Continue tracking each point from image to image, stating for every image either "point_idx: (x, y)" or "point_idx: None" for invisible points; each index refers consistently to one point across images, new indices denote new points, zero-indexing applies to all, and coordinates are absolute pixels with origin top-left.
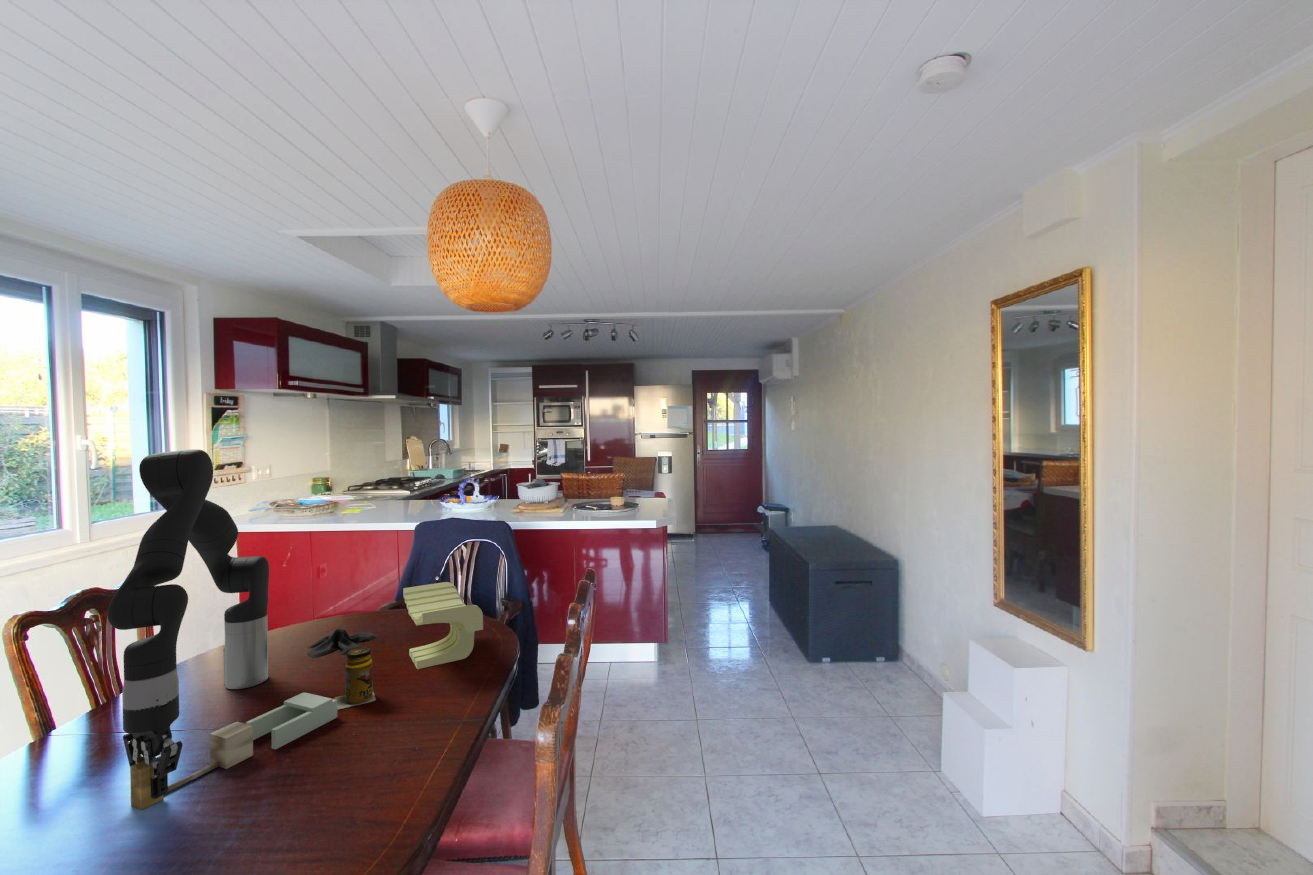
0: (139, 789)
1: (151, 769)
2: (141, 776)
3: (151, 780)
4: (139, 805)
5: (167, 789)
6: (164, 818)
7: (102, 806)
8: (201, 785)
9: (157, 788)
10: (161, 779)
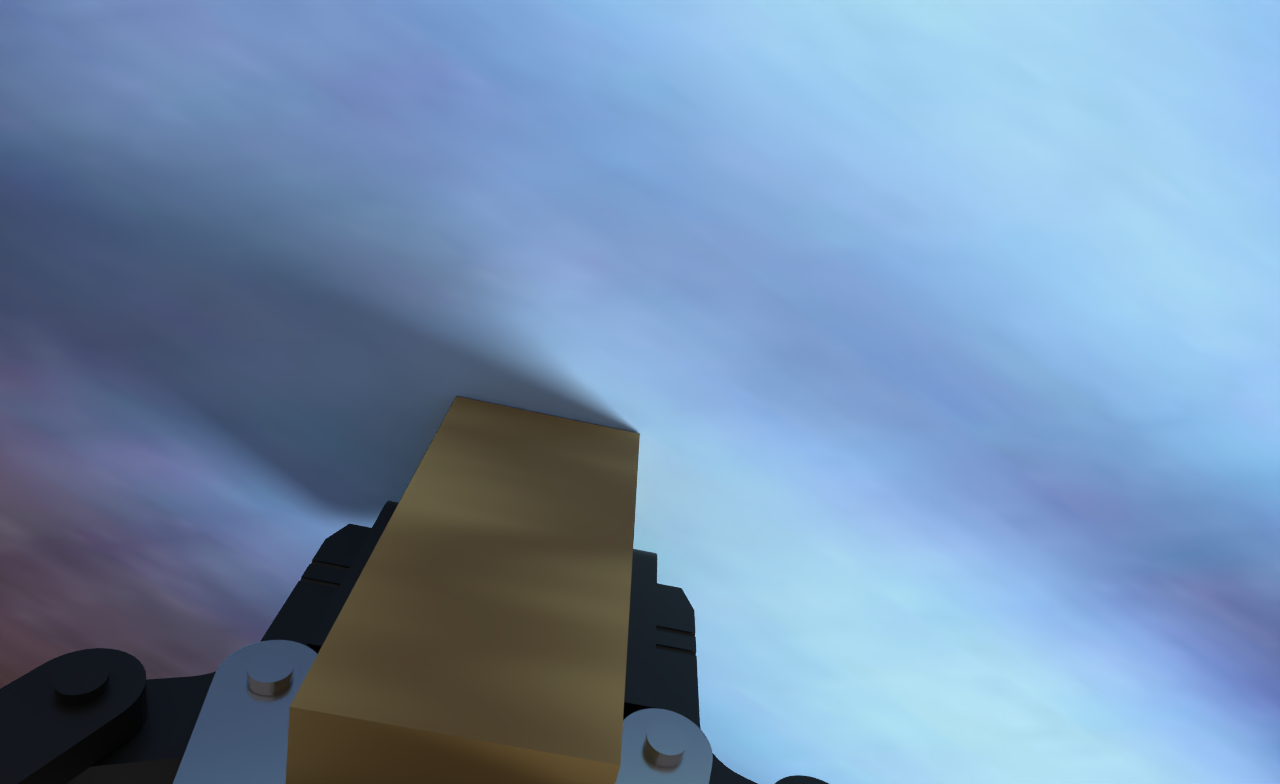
0: (434, 513)
1: (256, 750)
2: (336, 631)
3: None
4: (486, 421)
5: None
6: (79, 326)
7: (932, 388)
8: None
9: (312, 572)
10: None
